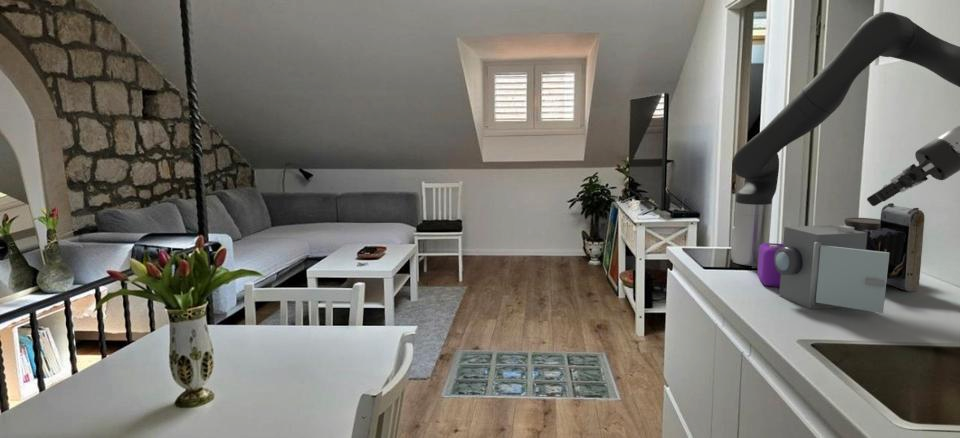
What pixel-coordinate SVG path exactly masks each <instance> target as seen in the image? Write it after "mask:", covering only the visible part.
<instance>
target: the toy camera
mask: <svg viewBox="0 0 960 438" xmlns="http://www.w3.org/2000/svg"><path fill="white" fill-rule="evenodd" d="M779 248H783V243H772V242H771V243H770V242H769V243H764V244H761V246H760V248H759V258H758V266H757V276H758V278H759V280H760V282H761V284H763V285H765V286H767V287H775V288H776V287H778V288H780V278H781V274H780V273H779V272H778V271H777V269H776V267H775V264H774V256H775V253H776V251H777V250H778V249H779Z"/></svg>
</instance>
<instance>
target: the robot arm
mask: <svg viewBox="0 0 960 438" xmlns="http://www.w3.org/2000/svg"><path fill="white" fill-rule="evenodd" d="M879 57H883V58H894V59H898V60H902V61H906V62H909V63H912V64H916V65H918V66H921V67H923V68H925V69H927V70H929V71H931V72H932V73H934V74H936V75H937V76H938V77H940V78H942V79H943V80H945V81H946V82H949V83H951V84H952V85H954V86H957V87H959V88H960V45H956V44H953V43H951V42H948V41H945V40H943V39H941V38H939V37H938V36H936V35H934V34H932V33H930V32H929V31H927V30H926V29H924V28H923V27H921V26H920V25H918V24H917V23H915V22H914V21H913V20H911V19H910V18H908V17H907V16H905V15H901V14H899V13H895V12H892V11H883V12H878V13H876V14H874V15H872V16H870V17H869V18H867V19H866V20H865V21H864V22H863V23H862V24H861V26H859V28H858V29H857V30H856V31H855V32H854V33H853V35H852V36H851V37H850V38H849V40H848V41H847V42H845V44H844V46H842V48H841V49H840V51H838V53H837V54H836V55H835V56H834V57H833V58H832V59H831V60H830V61H829V63H828V64H826V65H825V66H824V67H823V68H822V69H821V70H820V71H819V73H818V74H817V75H815V77H813V79H811V80H810V81H809V83H807V84H806V85H805V86H804V87H803V88H802V89H801V90H799V92H798V93H797V94H796V95H795V96H794V97H793V98H792V99H791V101H789V102H788V104H786V106H785V107H783V108H782V109H781V110H780V112H779V113H777V115H776V116H775V117H774V118H773V119H772V120H771V121H770V122H769V123H768V124H767V125H766V126H765V127H764V128H763V129H762V130H761V131H759V132H758V133H757V134H756V135H755V136H753V137H752V138H751V139H750V140H749V141H747V142H746V143H745V144H743V146H742V147H740V148H739V149H738V150H737V151H736V153H735V154H734V156H733V159H732V163H731V164H732V165H731V166H732V169H733V172H734V174H735V175H737V176H738V177H739V178H743V179H744V184H743V186H742V187H741V188H740V189H739V190H738V191H737V192H736V197H735V209H734V210H735V211H734V223H733V224H734V225H733V227H732V231H731V232H732V233H731V247H730V261H731V262H732V263H734V264H738V265H742V266H749V267H751V266H752V267H758V258H759V248H760V246H761V244H764V243H770V239H771V226H772V225H771V224H772V223H771V222H772V213H773V212H772V208H773V198H774V196H775V194H776V191H777V187H778V180H779V174H780V173H779V171H780V157H779V154H778V153H779V152H781V150H783V149H784V148H785V147H786V146H788V145H789V144H792V142H794V141H796V140H799V138H801V137H803V136H805V135H806V134H808V133H809V132H811V131H813V130H814V129H816V128H817V127H818V126H820V125H821V124H822V123H823V122H824V121H826V120H827V119H828V118H829V117H830V116H831V115H832V114H833V113H834V112H835V111H836V110H837V109H838V108H839V107H840V106H841V105H842V103H843V102H844V100H845V98H846V96H847V94H848V93H849V91H850V88H851V86H852V85H853V83H854V81H855V80H856V79H857V77H858V76H859V75H860V74H862V72H863V71H864V70H865V69H866V68H868V66H869V65H871V64H872V63H873V62H874V61H876V60H877V59H878V58H879ZM914 155H915V159H916V161H917V162H918V165H916V164H915V163H912V164H911V165H909V166H908V167H906V168H905V169H903V170H902V171H901V172H900V173H899V174H898V175H896V176H894V177H893V178H891V179H890V182H888V184H885V185H883V187H881V189H879V190H877V191H876V192H875V193H873V194H871V195H869V196H868V197H867V199H866V201H867V202H868V203H869V204H870V205H871V206H872V207H876V206H877V205H879V204H881V203H882V202H886V201H887V200H890V198H892V197H894V196H895V195H897V194H898V193H904V192H906V191H908V190H909V189H913V188H914V187H916V186H919V185H921V184H922V183H924V182H926V181H927V180H929V178H928V177H927V176H929V175H930V176H931V177H932V178H933V179H935V180H939V181H945V180H946V179H947V180H948V179H949V178H950V177H952V176H954V175H955V174H957V173H958V172H960V124H959V125H957V126H955V127H953V128H951V129H949V130H948V131H947V130H946V132H944V133H942V134H941V135H939V136H938V137H936V138H935V139H933V140H932V141H930V142H928V143H927V144H925V145H923V146H922V147H921V148H919V149H917V150H916V151H915V154H914Z"/></svg>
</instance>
